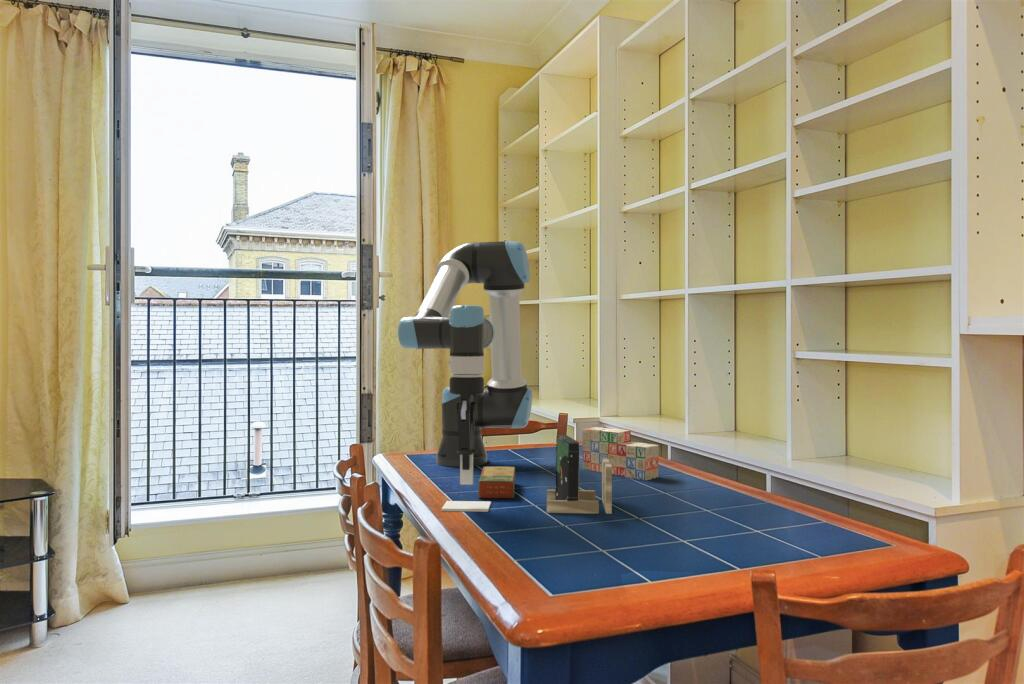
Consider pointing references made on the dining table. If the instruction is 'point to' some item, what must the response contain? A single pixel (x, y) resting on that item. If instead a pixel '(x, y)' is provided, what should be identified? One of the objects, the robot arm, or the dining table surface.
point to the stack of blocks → (619, 453)
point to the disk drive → (567, 468)
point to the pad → (467, 506)
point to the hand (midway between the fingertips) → (466, 483)
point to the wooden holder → (585, 496)
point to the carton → (497, 482)
